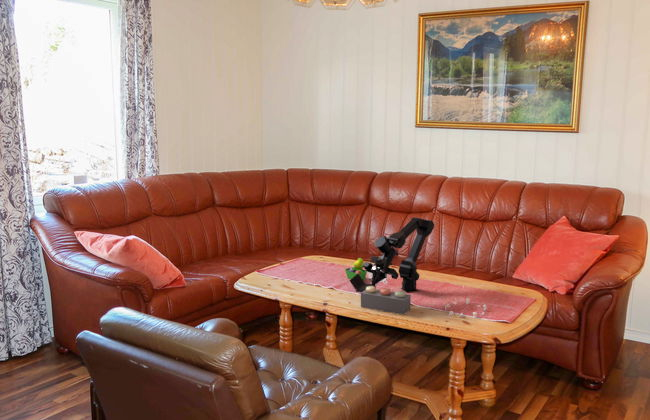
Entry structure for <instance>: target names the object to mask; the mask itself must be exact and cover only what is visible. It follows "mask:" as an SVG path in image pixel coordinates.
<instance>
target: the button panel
mask: <svg viewBox="0 0 650 420" xmlns="http://www.w3.org/2000/svg"><path fill="white" fill-rule="evenodd" d="M380 290H381V289H377V288H376V292H374V293H369V292H366V290H364V291H363V292H360V307H361V308H365V309H369V310H376V311H381V312H387V313H392V314H398V315H402V316H404V315H405V314H407V313H408V312H409V311H410V310H411V307H412V306H411V305H412V304H411V302H412V301H411V297H412V295H411V294H406V293H405V297H403V298H398V297H395V292H396V291H395V292H394V291H391V294H390V295H382V294H380Z"/></svg>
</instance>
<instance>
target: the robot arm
mask: <svg viewBox="0 0 650 420" xmlns="http://www.w3.org/2000/svg"><path fill="white" fill-rule="evenodd" d="M434 228H435V223H434V221H433V220H432V219H431V220H430V219H425V218H420V217H411V219H410V220H409V222H408V223H406V224H405V225H404V226H403V227H402V228H401V229H400V230H399V231H398V232H394V233H392V234H391V235H389V236H388V237H387V236H386V235H383V234H382V235H381V236H379V237H378V238H377V239H375V241H374V246H375V247H376V248H377V249H378V250H379V251H380V253H382V254H381V255H379V256H374V255H371V256H370V260H369V262H367V261H364V263H363V270H366V271H367V273H370V274H371V275H372V277H371V283H370V284H371V285H372V286H374V285H375V286H376V285H377V284H378V283H380V282H381V281H383V280H385V279H387V278H388V275H391V276H390V277H391V279H394V280H398V278H401V279H402V281H401V287H400V289H401V291H404V292H405V293H412V292H418V291H419V289H417V281H418V280H419V279H420V274H419V272H418V271H417V270H418V266H417V261H418V259H419V256H420V253H421V252H422V248H423V246H424V243H425V240H426V239H427V237H428V236H430V235H431V234H432V232H433V230H434ZM415 231H416V236H415V238H414V241H413V243H412V246H411V247H410V250H409V253H408V255H407V258H406V259H402V260H401V262H400V265H399V266H398V272H397V270H396V269H395V268H392V267H390V266H393V263H392V262H393V260H394V259H395V256H399V252H398V251H399V250H398V249H402V248H403V247H404V246H405V244H406V241H407V239H408V237H409V236H410V235H411V234H412V233H414V232H415ZM395 248H396V249H395ZM399 276H400V277H399Z"/></svg>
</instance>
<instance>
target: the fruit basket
mask: <svg viewBox="0 0 650 420" xmlns="http://www.w3.org/2000/svg"><path fill="white" fill-rule="evenodd" d="M364 262H365V261H364V259H363V258H361V257H359V258H357V259H356V261H354V263H353V266H351V267H349V268H345V269H344V271H345V274H346V278H347V279H349V280H351V279H352V278H353V277H354V276H356V275H357V274H359V275H360V277H361V278H362V280H363V281H365V280H366V277H367V273H368V272H367V271H366V270H365V269H364V267H363V264H364Z"/></svg>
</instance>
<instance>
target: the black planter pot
mask: <svg viewBox="0 0 650 420" xmlns="http://www.w3.org/2000/svg"><path fill="white" fill-rule="evenodd" d="M349 282H350V284H351V285H352V286H353V288H354V289H355V292H357V293H361V292H363V291H364V290H366V287H368V286H372V285H371V283H366V282H365V280H362V278H361V277H360V275H359V274H357V275H356V276H354V277H353V278H352V279H349ZM374 287H376V285H374Z"/></svg>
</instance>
